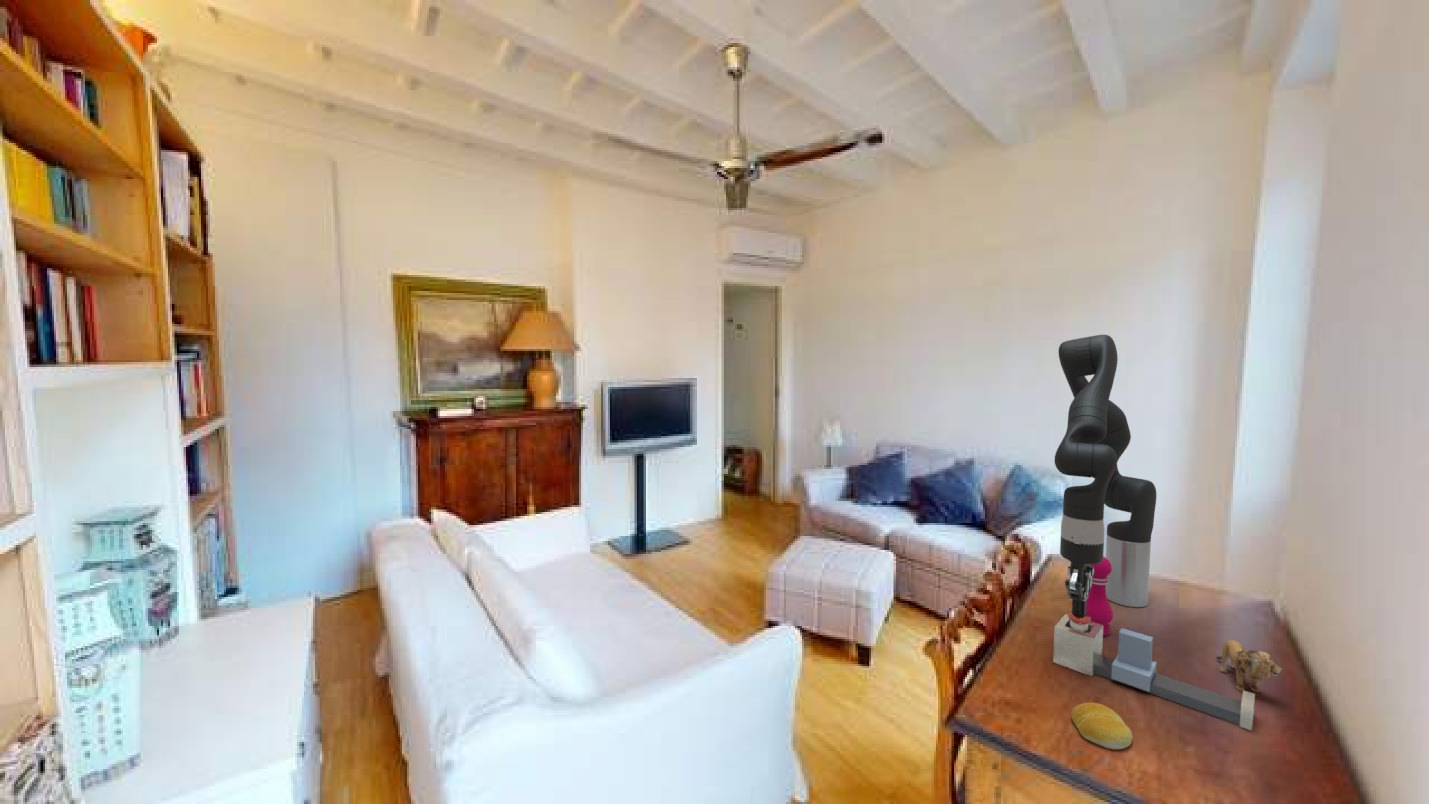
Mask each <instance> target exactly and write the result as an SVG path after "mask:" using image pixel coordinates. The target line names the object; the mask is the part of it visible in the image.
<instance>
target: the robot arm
mask: <svg viewBox="0 0 1429 804" xmlns="http://www.w3.org/2000/svg"><path fill="white" fill-rule="evenodd" d="M1058 359H1059V363H1060V366H1061V368H1062V371H1063V374H1064V376H1065V378H1066V382H1067V384H1068V386H1069V388H1070V391H1071V393H1072V396H1073V399H1072V401H1071V403H1070V405H1069V408H1068V413H1067V414H1068V416H1067V427H1066V432H1065V434H1064V436H1063V438H1062V440H1061V441H1060V444H1059V445H1058V447H1057V449H1056V451H1055V455H1054V466H1055V468H1056V469H1057V471H1058V472H1059V473H1060V474H1062V475H1065V476H1071V477H1080V478H1081V477H1082V478H1093V481H1092V482H1091V483H1089V484H1085V485H1076V486H1073V485H1072V486H1069V487H1067V488H1065V490H1064V491H1063V503H1062V518H1061V524H1060V546H1059V547H1060V548H1059V549H1060V550H1059V553H1060V556H1061V557H1062V558H1063V559H1065V560H1068V561H1069V562H1070V565H1069V566H1067V568H1066V569H1067V572H1066V573H1067V574H1066V575H1067V576H1068V579H1067V578H1066V580H1065V581H1064V583H1065V588H1066V591H1067V595H1068V598H1069V599H1072V600H1071V601H1072V602H1071V605H1072V607H1071V611H1072V614H1073V615H1074V616H1078V617H1081V618H1083V617H1084V616H1085V615H1086V600H1087V599H1088V593H1090V592H1091V586H1092V580H1093V575H1094V571H1095V568H1094V567H1091V564H1099V563H1101V562H1102V561H1103V556H1104V553H1105V558H1107V559H1108V560H1109V561H1110V563H1111V566H1112V571H1111V573H1110V574H1109V575H1108V578H1109V579H1108V582H1109V583H1108V584H1106V596H1107V599H1108V601H1111V602H1112V603H1114V604H1118V605H1121V606H1125V607H1130V608H1144V607H1147V606H1148V604H1149V602H1148V601H1149V587H1150V586H1149V584H1150V567H1151V566H1150V563H1151V547H1152V546H1151V543H1152V541H1151V540H1152V534H1153V533H1152V532H1153V531H1154V530H1153V528H1154V525H1155V524H1154V522H1155V511H1156V505H1157V489H1156V486H1155V484H1154V483H1153V481H1151V480H1148V479H1143V478H1137V477H1131V476H1126V475H1122V474H1121V473H1120V470H1119V469H1118V468H1119V467H1118V462H1119V460H1120V459H1121V458H1120V457H1122V455H1123V454H1124V452H1125V451H1126V450H1127V448H1128V446H1129V444H1130V442H1131V439H1132V437H1131V436H1132V435H1131V434H1132V433H1131V431H1130V426H1129V423H1128V420H1127V416H1126V413H1124V411H1123V410H1122V409H1121V407H1119V406H1118V405H1117V404H1115V403H1114V402H1113V401H1112V400H1110V395H1111V392H1112V389H1113V385H1114V381H1115V376H1116V373H1117V367H1118V360H1119V359H1118V350H1117V345H1116V343H1115V341H1114V340H1113V337H1111V335H1108V334H1096V335H1092V336H1085V337H1079V338H1074V339H1070V340H1065V341H1063V342H1061V343H1060V345H1059V346H1058ZM1087 376H1093V377H1092V378H1091V379H1090V380H1088V378H1086V377H1087ZM1105 506H1106V507H1108V508H1110V509H1113V510H1117V511H1121V512H1124V513H1125V512H1126V513H1130V517H1129V520H1119V521H1112V522H1109V523H1108V524H1107V525H1106V542H1105V524H1104V518H1105V517H1104V515H1105ZM1105 543H1106V544H1105ZM1105 545H1106V546H1105ZM1104 547H1105V549H1104ZM1104 551H1105V552H1104Z"/></svg>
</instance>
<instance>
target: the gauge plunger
mask: <svg viewBox="0 0 1429 804" xmlns="http://www.w3.org/2000/svg"><path fill="white" fill-rule="evenodd" d="M1067 615H1068V618H1069V619H1070V628H1072V629H1075V630H1078V631H1082V632H1085V633H1088V623H1090V622H1091V617H1090V616H1089V615H1087V614H1086V615H1085V616H1084V617H1083V618H1081V617H1078V616H1074V615H1073V614H1072V610H1070V611H1068V612H1067Z"/></svg>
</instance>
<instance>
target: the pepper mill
mask: <svg viewBox="0 0 1429 804" xmlns="http://www.w3.org/2000/svg"><path fill="white" fill-rule="evenodd" d="M1091 567H1094V568H1095V571H1094V575H1093V580H1092V586H1091V592H1090V593H1088V599H1087V600H1086V614H1087V615H1089V616H1090V617H1091V622H1094V623H1097V624H1101V625H1103V637H1107V636H1109V634H1110V632H1111V631H1110V630H1111V626H1110V624H1109V623H1111V621H1113V619H1114V613H1113V609H1112V605H1111V604H1110V602H1109V600H1108V599H1107V596H1106V584H1108V583H1109V582H1108V579H1109V578H1108V575H1109V574H1110V573H1111V571H1112V566H1111V563H1110V561H1109V560H1108V559H1107V558H1106V556H1104V555H1103V561H1102V562H1101V563H1099V564H1091Z"/></svg>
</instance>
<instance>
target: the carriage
mask: <svg viewBox="0 0 1429 804" xmlns="http://www.w3.org/2000/svg"><path fill="white" fill-rule="evenodd" d="M1153 641H1154V637H1153V636H1150V635H1148V634H1147V635H1146V634H1144V633H1140V632H1137V631H1132V630H1129V629H1126V628H1120V630H1119V632H1118V645H1117V646H1118V648H1117V655H1116V657H1115V658H1114V659H1115V660H1114V662H1113V663H1112V676H1111V679H1114V680H1117V681H1120V682H1123V683H1125V684H1128V685H1131V686H1134V687H1137V688H1140V689H1142V690H1145V691H1148V692H1150V685H1151V681H1152V678H1153V676H1154V674H1155V673H1157V667H1158V666H1157V665H1158V662H1157V661H1154V660H1153V646H1154V645H1153V643H1154V642H1153ZM1111 679H1110V680H1111ZM1114 680H1113V681H1114ZM1117 681H1116V682H1117ZM1120 682H1119V683H1120ZM1125 684H1124V685H1125ZM1128 685H1127V686H1128ZM1131 686H1130V687H1131ZM1134 687H1133V688H1134ZM1137 688H1136V689H1137ZM1142 690H1141V691H1142ZM1145 691H1144V692H1145ZM1148 692H1147V693H1148Z"/></svg>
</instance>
